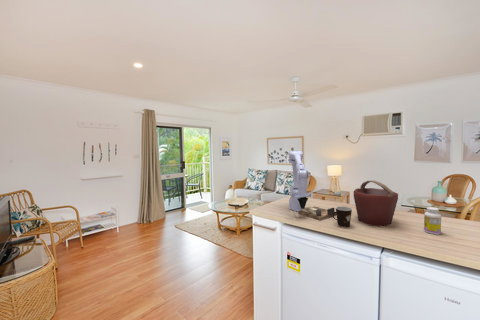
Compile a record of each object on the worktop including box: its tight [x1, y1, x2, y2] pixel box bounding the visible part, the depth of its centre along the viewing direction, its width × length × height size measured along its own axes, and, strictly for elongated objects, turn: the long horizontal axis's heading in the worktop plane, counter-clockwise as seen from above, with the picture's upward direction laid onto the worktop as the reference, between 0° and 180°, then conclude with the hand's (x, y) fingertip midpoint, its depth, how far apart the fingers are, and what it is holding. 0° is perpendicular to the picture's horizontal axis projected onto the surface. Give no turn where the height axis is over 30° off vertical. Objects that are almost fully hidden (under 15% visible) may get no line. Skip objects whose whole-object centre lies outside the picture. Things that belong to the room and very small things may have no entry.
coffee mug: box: [332, 206, 353, 228], centre depth 126 cm, size 12×9×10 cm
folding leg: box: [301, 205, 317, 215], centre depth 145 cm, size 12×3×3 cm, turn 33°
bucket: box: [353, 180, 399, 227], centre depth 130 cm, size 24×22×25 cm
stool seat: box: [297, 206, 337, 222], centre depth 147 cm, size 18×18×6 cm
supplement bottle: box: [423, 206, 442, 235], centre depth 112 cm, size 7×7×13 cm
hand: (302, 208), depth 141 cm, fingers closed
